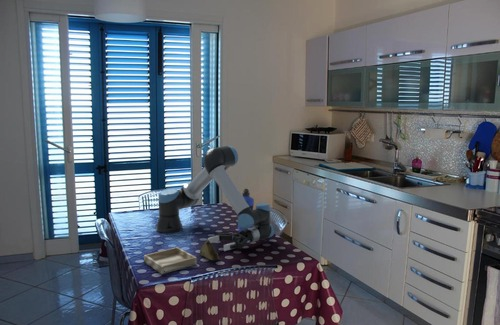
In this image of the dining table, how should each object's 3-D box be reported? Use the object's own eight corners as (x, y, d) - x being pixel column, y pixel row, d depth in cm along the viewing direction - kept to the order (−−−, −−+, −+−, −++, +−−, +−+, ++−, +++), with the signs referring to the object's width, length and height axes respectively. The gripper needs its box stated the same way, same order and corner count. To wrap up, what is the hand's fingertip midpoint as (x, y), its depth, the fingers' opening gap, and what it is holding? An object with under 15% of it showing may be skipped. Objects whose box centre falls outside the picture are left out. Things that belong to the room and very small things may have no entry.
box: (144, 262, 200) (143, 255, 200) (177, 253, 211) (177, 246, 211) (161, 274, 186) (161, 266, 186) (196, 264, 198) (196, 257, 197)
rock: (193, 250, 210) (197, 254, 200) (203, 235, 211) (207, 239, 201) (211, 261, 212) (215, 266, 203) (221, 247, 213) (225, 251, 204)
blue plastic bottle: (252, 233, 244) (252, 191, 240) (236, 232, 246) (236, 190, 242) (255, 228, 253) (255, 187, 249) (239, 227, 255) (239, 187, 251)
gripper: (264, 249, 212) (231, 259, 199) (234, 236, 231) (202, 244, 218) (264, 234, 211) (231, 243, 198) (234, 223, 230) (201, 230, 217)
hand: (215, 244), depth 208 cm, fingers open, 13 cm apart
